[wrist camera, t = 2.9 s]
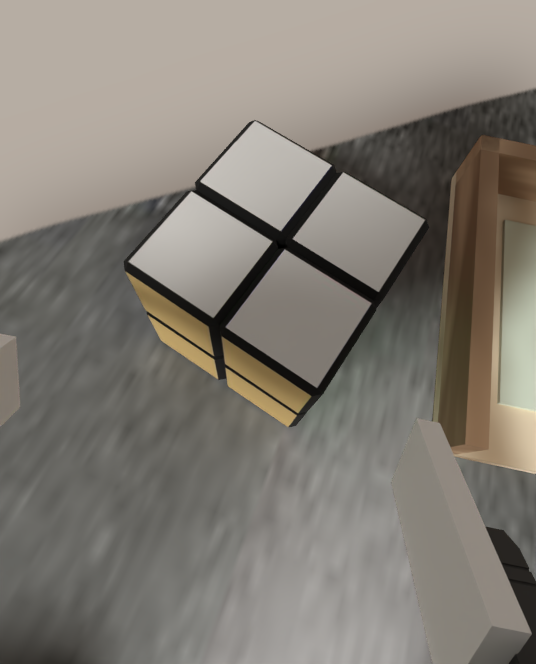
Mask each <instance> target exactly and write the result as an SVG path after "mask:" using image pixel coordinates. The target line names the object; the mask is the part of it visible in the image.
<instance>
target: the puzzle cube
mask: <svg viewBox="0 0 536 664" xmlns="http://www.w3.org/2000/svg"><path fill="white" fill-rule="evenodd" d="M195 185H196V191H188V192H186V193H185V194H184V195H183V196H182V197H181V199H180V200H179V201H178V202H177V203H176V204H175V205H174V206H173V207H172V209H171V210H170V211H169V212H168V213H167V214H166V215H165V216H164V217H163V219H162V220H161V221H160V222H159V223H158V224H157V225H156V226H155V227H154V229H153V230H152V231H151V232H150V233H149V234H148V235H147V236H146V237H145V239H144V240H143V241H142V242H141V243H140V244H139V245H138V246H137V247H136V249H135V250H134V251H133V252H132V253H131V254H130V255H129V256H128V257H127V259H126V260H125V261H124V268H125V272H126V274H127V276H128V278H129V280H130V282H131V284H132V286H133V288H134V289H135V291H136V293H137V295H138V297H139V299H140V301H141V303H142V305H143V307H144V309H145V310H146V311H147V315H148V317H149V319H150V321H151V323H152V325H153V326H154V328H155V330H156V332H157V334H158V336H159V338H160V340H161V341H162V342H164V343H165V344H167V345H168V346H170V347H171V348H173V349H174V350H176V351H177V352H179V353H180V354H182V355H183V356H184V357H186V358H187V359H189V360H190V361H192V362H193V363H195V364H196V365H198V366H199V367H201V368H202V369H204V370H205V371H207V372H208V373H209V374H211V375H212V376H214V377H215V378H217V379H218V380H220V379H225V378H226V379H227V385H228V387H230V388H231V389H233V390H234V391H236V392H237V393H239V394H240V395H242V396H243V397H245V398H246V399H248V400H249V401H251V402H252V403H253V404H255V405H256V406H258V407H259V408H261V409H262V410H264V411H265V412H267V413H268V414H270V415H271V416H273V417H274V418H276V419H277V420H278V421H280V422H281V423H283V424H284V425H286V426H287V427H292V426H296V425H297V424H298V422H299V421H300V420H301V419H302V418H303V416H304V415H305V414H306V413H307V411H308V410H309V409H310V408H311V407H312V406H313V405H314V403H315V402H316V401H317V400H318V399H319V398H320V397H321V396H322V394H323V393H324V391H325V390H326V388H327V387H328V385H329V384H330V382H331V380H332V379H333V377H334V376H335V374H336V373H337V371H338V369H339V368H340V366H341V365H342V363H343V362H344V360H345V358H346V357H347V355H348V354H349V352H350V351H351V349H352V347H353V346H354V344H355V343H356V341H357V340H358V338H359V336H360V335H361V333H362V332H363V330H364V329H365V327H366V325H367V324H368V322H369V321H370V319H371V318H372V316H373V315H374V313H375V311H376V308H377V307H378V305H379V304H380V303H381V301H382V300H383V299H384V297H385V296H386V294H387V293H388V291H389V289H390V288H391V286H392V285H393V283H394V282H395V280H396V278H397V277H398V275H399V274H400V272H401V271H402V269H403V267H404V266H405V264H406V263H407V261H408V260H409V258H410V256H411V255H412V253H413V252H414V250H415V249H416V247H417V245H418V244H419V242H420V241H421V239H422V238H423V236H424V234H425V233H426V231H427V230H428V228H429V226H428V223H427V220H426V219H425V218H424V217H422V216H420V215H418V214H417V213H415V212H413V211H411V210H410V209H408V208H406V207H405V206H403V205H401V204H399V203H398V202H396V201H394V200H393V199H391V198H389V197H387V196H386V195H384V194H382V193H380V192H379V191H377V190H375V189H374V188H372V187H370V186H368V185H367V184H365V183H363V182H362V181H360V180H358V179H356V178H355V177H353V176H351V175H350V174H348V173H346V172H341V173H336V170H335V167H334V165H333V164H331V163H329V162H328V161H326V160H324V159H323V158H321V157H319V156H317V155H316V154H314V153H312V152H310V151H309V150H307V149H305V148H304V147H302V146H300V145H298V144H297V143H295V142H293V141H292V140H290V139H288V138H286V137H285V136H283V135H281V134H280V133H278V132H276V131H274V130H273V129H271V128H269V127H267V126H266V125H264V124H262V123H261V122H259V121H256V120H254V121H251V122H249V123H248V124H247V125H246V127H245V128H244V129H243V130H242V131H241V132H240V133H239V134H238V136H236V138H235V139H234V140H233V141H232V142H231V143H230V144H229V145H228V147H227V148H226V149H225V150H224V151H223V152H222V153H221V154H220V155H219V156H218V158H217V159H216V160H215V161H214V162H213V163H212V164H211V165H210V166H209V168H208V169H207V170H206V171H205V172H204V173H203V174H202V175H201V176H200V178H199V179H198V180H197V181H196V182H195Z"/></svg>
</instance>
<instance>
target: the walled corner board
mask: <svg viewBox="0 0 536 664" xmlns="http://www.w3.org/2000/svg"><path fill="white" fill-rule="evenodd" d="M432 422H437V423H440V424H441V427H442V429H443V431H444V434H445V436H446V438H447V440H448V443H449V445H450V447H451V450H452V452H453V454H454V456H455V457H459V458H464V459H468V460H473V461H478V462H482V463H487V464H492V465H496V466H501V467H506V468H510V469H515V470H520V471H524V472H529V473H534V474H536V146H534V145H529V144H524V143H520V142H515V141H510V140H505V139H500V138H496V137H491V136H486V135H481V136H480V138H479V139H478V141H477V142H476V144H475V145H474V147H473V148H472V150H471V151H470V152H469V154H468V155H467V157H466V158H465V160H464V161H463V163H462V164H461V166H460V167H459V168H458V170H457V171H456V173H455V174H454V176H453V177H452V180H451V192H450V205H449V218H448V230H447V243H446V256H445V269H444V281H443V294H442V307H441V320H440V332H439V345H438V358H437V370H436V383H435V396H434V409H433V421H432Z"/></svg>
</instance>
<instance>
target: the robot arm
mask: <svg viewBox="0 0 536 664" xmlns="http://www.w3.org/2000/svg"><path fill="white" fill-rule="evenodd" d="M19 408H20V394H19V378H18V362H17V346H16V337H14V336H9V335H4V334H0V426H1V425H3V424H4V423H5V422H6V421H7V420H8V419H9V418H10V417H11V416H12V415H13V414H14V413H15V412H16V411H17V410H18V409H19ZM391 484H392V488H393V493H394V497H395V502H396V506H397V510H398V515H399V519H400V524H401V528H402V532H403V537H404V541H405V546H406V550H407V554H408V559H409V563H410V568H411V572H412V576H413V581H414V585H415V590H416V594H417V598H418V603H419V607H420V611H421V616H422V620H423V625H424V629H425V633H426V638H427V642H428V647H429V651H430V655H431V660H432V664H536V581H535V579H534V577H533V575H532V573H531V572H529V567H528V565H527V563H526V561H525V559H524V557H523V555H522V553H521V551H520V549H519V548H518V547H517V545H516V544H515V543H514V542H513V541H512V540H511V539H510V537H509V536H508V535H507V534H506V533H505V532H504V530H499V529H494V528H489V527H485V525H484V523H483V521H482V518H481V516H480V514H479V511H478V509H477V507H476V505H475V502H474V500H473V498H472V495H471V493H470V491H469V488H468V486H467V484H466V482H465V479H464V477H463V475H462V472H461V470H460V468H459V466H458V463H457V461H456V459H455V456H454V454H453V452H452V450H451V447H450V445H449V443H448V440H447V438H446V436H445V434H444V431H443V429H442V427H441V424H440V423H437V422H432V421H427V420H423V419H418V418H416V421H415V423H414V426H413V428H412V431H411V433H410V436H409V439H408V441H407V444H406V446H405V449H404V451H403V454H402V456H401V459H400V461H399V464H398V466H397V469H396V471H395V474H394V476H393V479H392V482H391Z"/></svg>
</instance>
